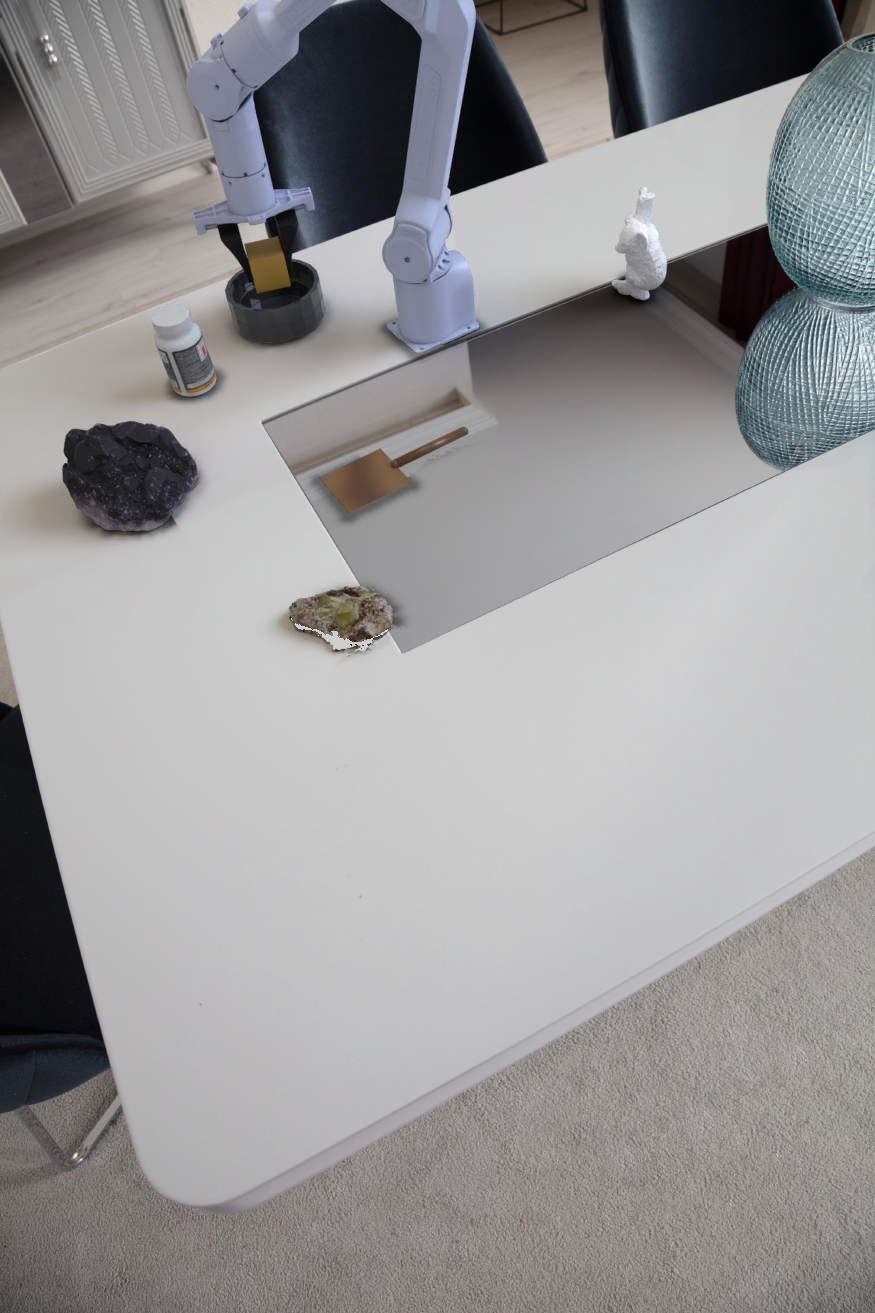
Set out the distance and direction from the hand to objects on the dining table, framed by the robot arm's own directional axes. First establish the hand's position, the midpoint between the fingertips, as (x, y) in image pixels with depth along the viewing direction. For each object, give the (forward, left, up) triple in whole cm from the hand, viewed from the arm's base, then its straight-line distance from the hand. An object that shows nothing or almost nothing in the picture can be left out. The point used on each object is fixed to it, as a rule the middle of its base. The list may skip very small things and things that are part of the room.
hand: (269, 273), depth 118 cm
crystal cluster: (+28, +21, -7) cm, 36 cm away
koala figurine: (-40, +25, -7) cm, 48 cm away
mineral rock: (+18, +51, -7) cm, 54 cm away
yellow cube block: (0, 0, -1) cm, 1 cm away
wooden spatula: (+2, +35, -6) cm, 36 cm away
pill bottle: (+15, +6, -7) cm, 17 cm away
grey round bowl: (0, 0, -6) cm, 6 cm away
